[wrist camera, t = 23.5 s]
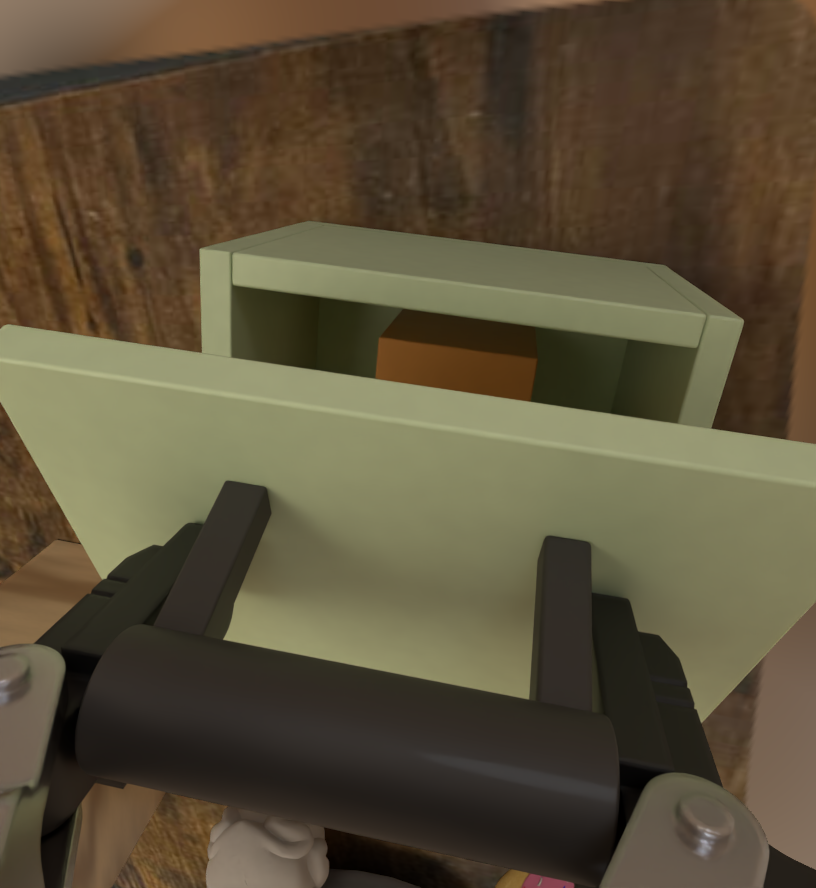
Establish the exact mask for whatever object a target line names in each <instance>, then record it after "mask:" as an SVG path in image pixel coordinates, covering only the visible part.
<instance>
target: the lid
mask: <svg viewBox="0 0 816 888" xmlns="http://www.w3.org/2000/svg"><path fill="white" fill-rule="evenodd" d="M0 402H1V404H2V405H3V407H4V409H5V411H6V412H7V414H8V416H9V418H10V419H11V421H12V423H13V425H14V426H15V428H16V430H17V432H18V433H19V435H20V437H21V439H22V440H23V442H24V444H25V446H26V447H27V449H28V451H29V453H30V454H31V456H32V458H33V460H34V461H35V463H36V465H37V467H38V469H39V470H40V472H41V474H42V476H43V477H44V479H45V481H46V483H47V484H48V486H49V488H50V490H51V491H52V493H53V495H54V497H55V498H56V500H57V502H58V504H59V505H60V507H61V509H62V511H63V512H64V514H65V516H66V518H67V519H68V521H69V523H70V525H71V526H72V528H73V530H74V532H75V533H76V535H77V537H78V539H79V540H80V542H81V544H82V546H83V547H84V549H85V551H86V553H87V554H88V556H89V558H90V560H91V561H92V563H93V565H94V567H95V568H96V570H97V572H98V574H99V575H100V577H101V579H102V580H103V579H107V575H108V574H109V573H110V572H111V571H112V570H113V569H115V568H116V567H117V566H118V565H119V564H120V563H121V562H122V561H123V560H124V559H125V558H127V557H129V556H131V555H133V554H135V553H137V552H139V551H141V550H143V549H145V548H148V547H150V546H152V545H159V546H164V545H165V544H166V543H167V542H168V541H169V540H170V539H171V538H172V537H173V536H174V535H175V534H176V533H177V532H178V531H179V530H180V529H181V528H182V527H183V526H184V525H185V524H187V523H196V524H202V525H203V527H202V529H201V531H200V533H199V535H198V537H197V539H196V541H195V543H194V545H193V547H192V549H191V551H190V553H189V555H188V557H187V559H186V561H185V563H184V565H183V567H182V569H181V571H180V573H179V575H178V577H177V579H176V581H175V583H174V585H173V587H172V589H171V591H170V593H169V595H168V597H167V599H166V601H165V603H164V605H163V607H162V609H161V611H160V613H159V615H158V617H157V619H156V621H155V623H154V625H153V626H151V625H146V624H138V625H133V626H131V627H129V628H127V629H126V630H124V631H123V632H122V633H120V634H119V635H118V636H117V637H116V638H115V639H114V640H113V642H112V643H111V644H110V645H109V647H108V648H107V649H106V651H105V652H104V654H103V655H102V657H101V659H100V660H99V662H98V664H97V666H96V668H95V670H94V672H93V674H92V676H91V678H90V680H89V683H88V685H87V688H86V690H85V693H84V696H83V699H82V702H81V706H80V709H79V714H78V718H77V724H76V730H75V755H76V759H77V762H78V765H79V766H80V768H81V769H82V770H83V771H84V772H85V773H86V774H88V775H91V776H96V777H100V778H105V779H109V780H114V781H118V782H123V783H127V784H132V785H136V786H141V787H145V788H150V789H154V790H159V791H163V792H168V793H172V794H176V795H181V796H185V797H190V798H194V799H199V800H203V801H208V802H212V803H217V804H221V805H226V806H230V807H235V808H239V809H244V810H248V811H253V812H257V813H262V814H266V815H271V816H275V817H280V818H284V819H289V820H293V821H298V822H302V823H307V824H311V825H316V826H320V827H324V828H329V829H333V830H338V831H342V832H347V833H351V834H356V835H360V836H365V837H369V838H374V839H378V840H383V841H387V842H392V843H396V844H401V845H405V846H410V847H414V848H419V849H423V850H428V851H432V852H437V853H441V854H446V855H450V856H455V857H459V858H464V859H468V860H472V861H477V862H481V863H486V864H490V865H495V866H499V867H504V868H508V869H513V870H517V871H522V872H526V873H531V874H535V875H540V876H544V877H549V878H553V879H558V880H562V881H567V882H571V883H576V884H580V885H585V886H589V887H597V886H599V885H600V883H601V881H602V879H603V877H604V874H605V872H606V870H607V868H608V866H609V864H610V861H611V859H612V855H613V851H614V846H615V841H616V834H617V826H618V816H619V800H620V770H619V755H618V747H617V741H616V736H615V732H614V728H613V726H612V723H611V721H610V719H609V718H608V717H607V716H605V715H604V714H601V713H596V712H592V593H598V594H604V595H610V596H616V597H621V598H627V599H629V601H630V603H631V607H632V611H633V614H634V618H635V622H636V626H637V629H638V631H639V632H645V633H650V634H656V635H659V636H660V637H661V638H662V639H663V640H664V641H665V643H666V644H667V645H668V646H669V647H670V648H671V649H672V651H673V652H674V653H675V654H676V655H677V656H678V658H679V659H680V662H681V665H682V668H683V671H684V674H685V677H686V680H687V683H688V684H687V688H689V689H690V691H691V694H692V697H693V700H694V703H695V705H694V709H697V712H698V715H699V718H700V721H701V723H702V722H703V721H704V720H705V719H706V718H707V717H708V716H709V715H710V714H711V712H712V711H713V710H714V709H715V708H716V707H717V706H718V705H719V704H720V703H721V702H722V701H723V700H724V699H725V698H726V697H727V695H728V694H729V693H730V692H731V691H732V690H733V689H734V688H735V687H736V686H737V685H738V684H739V683H740V682H741V681H742V680H743V678H744V677H745V676H746V675H747V674H748V673H749V672H750V671H751V670H752V669H753V668H754V667H755V666H756V665H757V664H758V663H759V661H760V660H761V659H762V658H763V657H764V656H765V655H766V654H767V653H768V652H769V651H770V650H771V649H772V648H773V647H774V646H775V644H776V643H777V642H778V641H779V640H780V639H781V638H782V637H783V636H784V635H785V634H786V633H787V632H788V631H789V630H790V629H791V627H792V626H793V625H794V624H795V623H796V622H797V621H798V620H799V619H800V618H801V617H802V616H803V615H804V614H805V612H807V610H808V609H809V608H810V607H811V606H812V605H813V604H814V603H815V602H816V444H811V443H805V442H797V441H791V440H784V439H778V438H771V437H764V436H757V435H751V434H744V433H737V432H730V431H724V430H717V429H710V428H703V427H697V426H690V425H683V424H677V423H670V422H663V421H656V420H650V419H643V418H636V417H629V416H623V415H616V414H609V413H602V412H596V411H589V410H582V409H575V408H569V407H562V406H555V405H549V404H542V403H535V402H528V401H522V400H515V399H508V398H501V397H495V396H488V395H481V394H474V393H468V392H461V391H454V390H448V389H441V388H434V387H427V386H421V385H414V384H407V383H400V382H394V381H387V380H380V379H373V378H367V377H360V376H353V375H346V374H340V373H333V372H326V371H320V370H313V369H306V368H299V367H293V366H286V365H279V364H272V363H266V362H259V361H252V360H245V359H239V358H232V357H225V356H218V355H212V354H205V353H198V352H192V351H185V350H178V349H171V348H165V347H158V346H151V345H144V344H138V343H131V342H124V341H117V340H111V339H104V338H97V337H91V336H84V335H77V334H70V333H64V332H57V331H50V330H43V329H37V328H30V327H23V326H16V325H10V324H8V325H5V326H3V327H2V328H1V329H0ZM233 605H234V609H233V615H232V619H231V623H230V626H229V629H228V631H227V633H226V635H225V637H224V639H223V640H222V639H220V636H221V634H222V632H223V629H224V627H225V624H226V622H227V620H228V617H229V615H230V612H231V610H232V608H233Z"/></svg>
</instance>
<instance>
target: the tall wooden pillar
mask: <svg viewBox="0 0 816 888" xmlns="http://www.w3.org/2000/svg"><path fill="white" fill-rule="evenodd" d="M100 581H102V579H101V577H100V575H99V574H98V572H97V570H96V568H95V567H94V565H93V563H92V561H91V560H90V558H89V556H88V554H87V553H86V551H85V549H84V547H83V546H82V544H77V543H71V542H66V541H60V540H55V541H54V542H53V543H52V544H50V545H49V546H48V547H47V548H45V549H44V550H43V551H42V552H40V553H39V554H38V555H37V556H35V557H34V558H33V559H32V560H30V561H29V562H28V563H27V564H25V565H24V566H23V567H22V568H20V569H19V570H18V571H17V572H15V573H14V574H13V575H12V576H10V577H9V578H8V579H7V580H5V581H4V582H3V583H2V584H0V647H4V646H8V645H15V644H33V643H34V642H36V641H37V640H38V639H39V638H40V637H41V636H42V635H43V634H44V633H45V632H46V631H47V630H49V629H50V628H51V627H52V626H53V625H54V624H55V623H56V622H57V621H58V620H59V619H60V618H62V617H63V616H64V615H65V614H66V613H67V612H68V611H69V610H70V609H71V608H72V607H73V606H75V605H76V604H77V603H78V602H79V601H80V600H81V599H82V598H83V597H84V596H85V595H86V594H87V593H88V594H91V591H92V589H93V588H94V587H95V586H96V585H97V584H98V583H99V582H100ZM165 793H166V792H163V791H159V790H154V789H150V788H145V787H141V786H136V785H132V784H126V786H125V787H124V789H120V788H115V787H111V786H107V785H102V784H98V783H95V784H94V785H93V787H92V788H91V790H90V791H89V792H88V794H87V795H86V796H85V798H84V799H83V801H82V802H81V803H82V811H83V818H82V825H81V832H80V838H79V844H78V850H77V857H76V863H75V869H74V875H73V882H72V888H111V887H112V886H113V884H114V882H115V880H116V879H117V877H118V875H119V873H120V872H121V870H122V868H123V866H124V865H125V863H126V861H127V859H128V858H129V856H130V854H131V852H132V851H133V849H134V847H135V845H136V844H137V842H138V840H139V838H140V837H141V835H142V833H143V831H144V829H145V828H146V826H147V824H148V822H149V821H150V819H151V817H152V815H153V814H154V812H155V810H156V808H157V807H158V805H159V803H160V801H161V800H162V798H163V796H164V794H165Z"/></svg>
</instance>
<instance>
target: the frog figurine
mask: <svg viewBox="0 0 816 888" xmlns="http://www.w3.org/2000/svg"><path fill="white" fill-rule="evenodd" d="M327 849H328V848H327V843H326V841H325V830H324V827H320V826H316V825H311V824H307V823H302V822H298V821H293V820H289V819H284V818H280V817H275V816H271V815H266V814H262V813H257V812H253V811H248V810H244V809H239V808H235V807H230V806H229V807H227V808H226V809H225V810H224V812H223V815H222V820H221V821H220V822H219V823H217V824H216V825H214V827H213V828H212V830H211V834H210V843H209V846H208V857H209V859H210V860H209V862H208V866H207V871H206V883H207V888H321V887H322V886H323V884H324V883H325V881H326V879H327V877H328V874H329V860H328V859H327V857H326V854H327Z"/></svg>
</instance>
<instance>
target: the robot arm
mask: <svg viewBox="0 0 816 888" xmlns="http://www.w3.org/2000/svg"><path fill="white" fill-rule="evenodd" d="M202 527H203V525H202V524H196V523H187V524H185V525H184V526H183V527H182V528H181V529H180V530H179V531H178V532H177V533H176V534H175V535H174V536H173V537H172V538H171V539H170V540H169V541H168V542H167V543H166V544H165V545H164V546H159V545H152V546H150V547H148V548H145V549H143V550H141V551H139V552H137V553H135V554H133V555H131V556H129V557H127V558H125V559H124V560H123V561H122V562H121V563H120V564H119V565H118V566H117V567H116V568H115V569H113V570H112V571H111V572H110V573H109V574H108V575H107V579H103V580H102V581H100V582H99V583H98V584H97V585H96V586H95V587H94V588H93V589H92V591H91V594H88V593H87V594H86V595H85V596H84V597H83V598H82V599H81V600H80V601H79V602H78V603H77V604H76V605H75V606H73V607H72V608H71V609H70V610H69V611H68V612H67V613H66V614H65V615H64V616H63V617H62V618H60V619H59V620H58V621H57V622H56V623H55V624H54V625H53V626H52V627H51V628H50V629H49V630H47V631H46V632H45V633H44V634H43V635H42V636H41V637H40V638H39V639H38V640H37V641H36V642H34V643H33V644H15V645H8V646H4V647H0V888H72V882H73V875H74V869H75V863H76V857H77V850H78V844H79V838H80V832H81V825H82V818H83V811H82V803H81V802H82V801H83V799H84V798H85V796H86V795H87V794H88V792H89V791H90V790H91V788H92V787H93V785H94V784H95V783H98V784H102V785H107V786H111V787H115V788H120V789H124V787H125V786H126V784H127V783H123V782H118V781H114V780H109V779H105V778H100V777H96V776H91V775H88V774H86V773H85V772H84V771H83V770H82V769H81V768H80V766H79V765H78V762H77V759H76V755H75V730H76V724H77V718H78V714H79V709H80V706H81V702H82V699H83V696H84V693H85V690H86V688H87V685H88V683H89V680H90V678H91V676H92V674H93V672H94V670H95V668H96V666H97V664H98V662H99V660H100V659H101V657H102V655H103V654H104V652H105V651H106V649H107V648H108V647H109V645H110V644H111V643H112V642H113V640H114V639H115V638H116V637H117V636H118V635H119V634H120V633H122V632H123V631H124V630H126V629H127V628H129V627H131V626H133V625H138V624H146V625H151V626H153V625H154V623H155V621H156V619H157V617H158V615H159V613H160V611H161V609H162V607H163V605H164V603H165V601H166V599H167V597H168V595H169V593H170V591H171V589H172V587H173V585H174V583H175V581H176V579H177V577H178V575H179V573H180V571H181V569H182V567H183V565H184V563H185V561H186V559H187V557H188V555H189V553H190V551H191V549H192V547H193V545H194V543H195V541H196V539H197V537H198V535H199V533H200V531H201V529H202ZM233 609H234V605H233V608H232V610H231V612H230V615H229V617H228V620H227V622H226V624H225V627H224V629H223V632H222V634H221V636H220V639H222V640H223V639H224V637H225V635H226V633H227V631H228V629H229V626H230V623H231V619H232V615H233ZM687 684H688V683H687V680H686V677H685V674H684V671H683V668H682V665H681V662H680V659H679V658H678V656H677V655H676V654H675V653H674V652H673V651H672V649H671V648H670V647H669V646H668V645H667V644H666V643H665V641H664V640H663V639H662V638H661V637H660V636H659V635H656V634H650V633H645V632H639V631H638V629H637V626H636V622H635V618H634V614H633V611H632V607H631V603H630V601H629V599H627V598H621V597H616V596H610V595H604V594H598V593H592V712H596V713H601V714H604V715H605V716H607V717H608V718H609V719H610V721H611V723H612V726H613V728H614V732H615V736H616V741H617V747H618V755H619V770H620V800H619V816H618V826H617V834H616V841H615V846H614V851H613V855H612V859H611V861H610V864H609V866H608V868H607V870H606V872H605V874H604V877H603V879H602V881H601V883H600V885H599V886H597V887H589V886H585V885H580V884H576V883H574V888H816V870H815V869H812V868H810V867H808V866H806V865H804V864H802V863H800V862H798V861H796V860H794V859H792V858H790V857H788V856H786V855H784V854H783V853H781V852H780V851H778V850H776V849H775V848H773V847H772V846H770V845H769V844H768V841H767V838H766V835H765V833H764V831H763V829H762V827H761V825H760V823H759V822H758V820H757V819H756V818H755V816H754V815H753V814H752V813H751V811H750V810H749V809H748V808H747V807H746V806H745V805H744V804H743V803H742V802H741V801H740V800H739V799H738V798H736V797H735V796H734V795H732V794H731V793H730V792H728V791H727V790H726V789H724V788H723V786H722V783H721V780H720V777H719V774H718V771H717V768H716V765H715V762H714V759H713V756H712V753H711V751H710V748H709V745H708V742H707V739H706V736H705V733H704V730H703V727H702V724H701V721H700V718H699V715H698V712H697V709H694V705H695V703H694V700H693V697H692V694H691V691H690V689H689V688H687Z"/></svg>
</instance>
